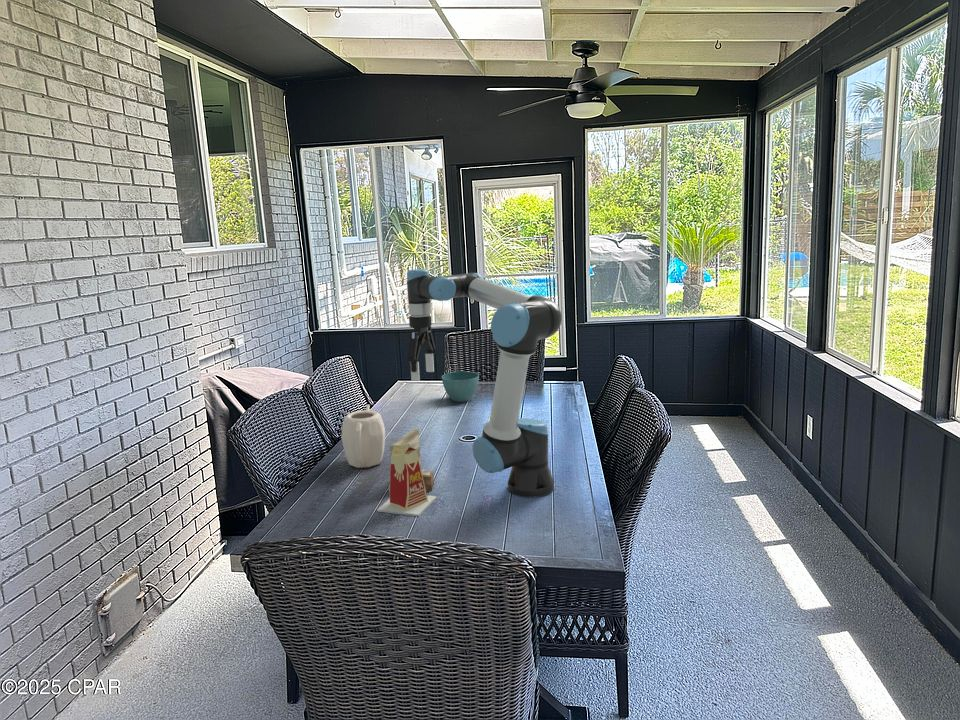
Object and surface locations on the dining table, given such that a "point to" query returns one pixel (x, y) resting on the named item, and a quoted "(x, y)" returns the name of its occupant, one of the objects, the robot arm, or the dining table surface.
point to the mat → (413, 511)
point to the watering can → (363, 438)
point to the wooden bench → (406, 439)
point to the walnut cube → (428, 480)
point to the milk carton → (406, 478)
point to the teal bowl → (460, 385)
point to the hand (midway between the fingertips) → (423, 376)
